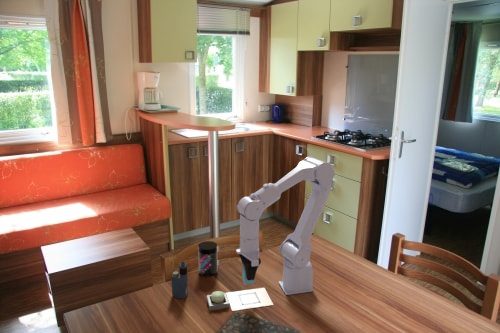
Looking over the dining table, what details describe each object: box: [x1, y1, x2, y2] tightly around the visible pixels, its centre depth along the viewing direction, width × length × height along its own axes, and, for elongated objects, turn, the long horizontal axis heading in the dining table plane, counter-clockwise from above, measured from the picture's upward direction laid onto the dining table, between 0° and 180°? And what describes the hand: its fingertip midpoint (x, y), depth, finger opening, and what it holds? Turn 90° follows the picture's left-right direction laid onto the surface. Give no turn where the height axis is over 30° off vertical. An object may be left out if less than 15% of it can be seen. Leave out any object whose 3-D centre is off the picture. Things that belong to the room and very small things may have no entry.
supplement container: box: [197, 240, 219, 277], centre depth 143 cm, size 7×7×10 cm
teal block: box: [241, 264, 256, 286], centre depth 125 cm, size 3×3×6 cm
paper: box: [225, 287, 274, 312], centre depth 128 cm, size 13×10×1 cm
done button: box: [210, 290, 225, 304], centre depth 125 cm, size 4×4×2 cm
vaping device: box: [170, 261, 189, 299], centre depth 128 cm, size 3×5×12 cm, turn 78°
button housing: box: [206, 292, 230, 311], centre depth 125 cm, size 6×6×2 cm
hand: (249, 276), depth 126 cm, fingers closed on teal block, 3 cm apart
